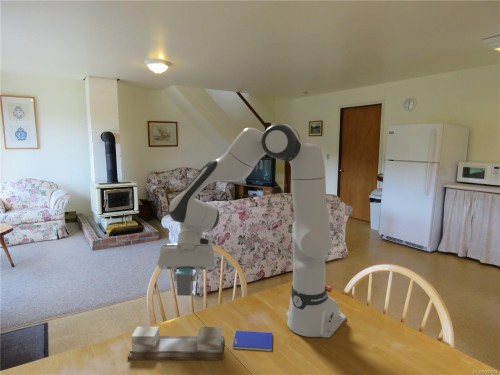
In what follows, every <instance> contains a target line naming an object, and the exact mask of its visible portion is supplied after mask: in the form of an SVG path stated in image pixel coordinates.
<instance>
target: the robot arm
mask: <svg viewBox="0 0 500 375" xmlns="http://www.w3.org/2000/svg"><path fill="white" fill-rule="evenodd" d="M265 155H267V156H269V157H271V158H273V159H276V160H280V161H281V160H282V161H284V162H288V163H289V165H290V172H291V191H292V192H291V194H292V208H293V214H294V215H293V217H294V220H293V222H292V225H291V226H292V229H291V230H292V233H291V237H292V238H291V239H292V242H291V243H292V264H293V265H292V285H291V289H290V298H289V305H288V306H289V308H288V310H287V311H286V317H287V322H286V325H287V327H288V328H289V329H290V331H292V332H293V333H295V334H297V335H299V336H304V337H311V338H317V337H319V338H320V337H321V338H326V339H327V338H331V337H332V336H333V334H334V333H335V332H336V331H337V330H338V329H339V327H341V325H342V324H343V322H344V321H345V320H346V316H345V314H344V313H343V312H341V311H340V307H339V306H340V305H339V303H338V302H337V300H335V298H332V297H331V296H330V295H329V294H328V293H332V292H333V287H332V286H330V285H328V284H327V285H326V272H327V271H326V270H327V267H326V266H327V265H326V260H325V259H326V257H325V256H327V255H328V254H329V252H330V251H331V249H332V243H333V242H332V235H331V227H330V226H331V225H330V216H329V211H328V205H327V204H328V203H327V185H326V184H327V182H326V181H327V180H326V166H325V160H324V155H323V150H322V148H321V147H320V146H319V145H317V144H315V143H310V142H309V143H308V142H307V143H306V142H302V141H301V139H300V134H299V133H298V132H297V130H296V129H295V128H293V127H292V126H290V125H289V124H285V123H276V124H272V125H270V126H268V127H267V128H266V130H264V132H263V131H261V130H259V129H258V128H255V127H246V128H244V129H243V130H242V131H241V132H240V133H239V134H238V135H237V137H235V139H234V140H233V142H232V143H231V144H230V145H229V147H228V148H227V150H226V152H225V153H224V154H223V155H221V156H220V157H218V158H216V159H211V160H209V161H208V162H207V163H206V164H205V165H204V166H203V167H202V168H201V169H200V170H199V171H198V172H197V173H196V174H195V175H194V176H193V178H192V179H191V180H190V181H189V182H188V184H187V185H186V186H185V187H184V188H183V189H182V190H181V191H179V192H178V193H177V195H175V196H174V197H173V198H172V200H171V201H170V204H169V205H168V213H169V216H170V218H171V219H172V221H174V222H177V223H180V224H179V227H180V231H179V233H178V236H177V237H178V238H177V243H171V244H170V243H165V244H164V245H162V246H160V249H159V257H158V260H157V267H158V268H159V269H160V270H171V272H172V274H173V281H174V282H177V272H178V270H179V268H180V267H193V271H194V270H195V273H194V274H193V275H191V281H193V283H195V282H196V281H197V277H198V276H199V275H200V273H201V270H209V271H210V270H211V271H213V270H214V269H215V268H216V253H215V250H214V243H213V240H211V239H209V238H206V237H203V233H207V232H210V231H212V230H213V229H215V228H216V227H217V226H218V225H219V222H220V212H219V211H220V210H219V209H218V207H217V206H216V205H213V204H211V203H208V202H205V201H202V200H200V199H197V198H196V197H197V196H198V195H199V194H200V193H201V192H202V191H203V189H205V187H206V186H207V185H208V184H210V183H214V182H229V183H235V182H241V181H244V180H246V179H247V178H248V177H249V176H250V174H251V173H252V171H253V170H254V169H255V167H256V166H257V165H258V163H259V161H260V160H261V158H263V157H264V156H265Z"/></svg>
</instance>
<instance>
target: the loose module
mask: <svg viewBox="0 0 500 375" xmlns="http://www.w3.org/2000/svg"><path fill="white" fill-rule="evenodd" d="M193 271H194V270H193V267H180V268H179V269H177V272H176V275H177V281H176V292H177V293H176V296H187V297H188V296H191V295H192V292H193V291H194V281H191V275H194V274H193V273H194V272H193Z"/></svg>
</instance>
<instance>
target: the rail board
mask: <svg viewBox="0 0 500 375" xmlns="http://www.w3.org/2000/svg"><path fill="white" fill-rule="evenodd" d="M222 332H223V328H222V326H199V328H198V332H197V335H160V334H161V333H160V326H136V329H135V330H134V331H133V333H132V334H131V336H130V337H131V348H130V350H129V352H128V355H127V360H129V361H131V360H140V361H141V360H145V361H146V360H151V361H155V360H156V361H157V360H159V361H163V360H166V361H167V360H168V361H175V360H176V361H221V360H222V358H223V357H222V356H223V350H224V343H225V336H224V335H223V333H222Z"/></svg>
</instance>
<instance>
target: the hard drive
mask: <svg viewBox="0 0 500 375" xmlns="http://www.w3.org/2000/svg"><path fill="white" fill-rule="evenodd" d="M272 348H273V332H267V331H265V332H263V331H253V330H249V331H247V330H235V334H234V338H233V342H232V349H238V350H255V351H269V352H270V351H271V352H272V351H273V350H272Z"/></svg>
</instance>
